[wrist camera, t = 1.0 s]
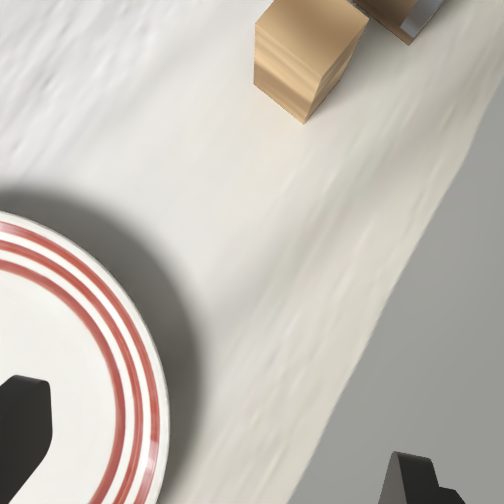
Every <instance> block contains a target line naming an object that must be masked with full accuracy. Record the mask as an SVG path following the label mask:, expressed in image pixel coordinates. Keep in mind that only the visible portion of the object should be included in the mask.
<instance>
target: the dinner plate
mask: <svg viewBox="0 0 504 504" xmlns="http://www.w3.org/2000/svg"><path fill="white" fill-rule="evenodd" d="M13 375H21V376H26V377H31V378H36V379H41V380H46V381H48V382H49V384H50V389H51V407H52V427H53V435H52V441H51V445H50V447H49V450H48V452H47V454H46V456H45V458H44V459H43V461H42V462H41V463H40V465H39V466H38V467H37V468H36V470H35V471H34V472H33V474H32V475H31V476H30V477H29V479H28V480H27V481H26V482H25V484H24V485H23V486H22V487H21V489H20V490H19V491H18V493H17V494H16V495H15V496H14V498H13V499H12V500H11V501H10V503H9V504H156V501H157V499H158V496H159V493H160V490H161V487H162V483H163V479H164V474H165V470H166V465H167V460H168V453H169V442H170V405H169V395H168V388H167V383H166V378H165V374H164V370H163V366H162V363H161V360H160V357H159V353H158V350H157V348H156V345H155V343H154V340H153V338H152V335H151V333H150V331H149V329H148V327H147V325H146V323H145V321H144V320H143V318H142V316H141V314H140V313H139V311H138V309H137V308H136V306H135V304H134V303H133V301H132V300H131V298H130V297H129V296H128V294H127V293H126V291H125V290H124V289H123V287H122V286H121V285H120V284H119V283H118V281H117V280H116V279H115V278H114V277H113V275H112V274H111V273H110V272H109V271H108V270H107V269H106V268H105V267H104V266H103V265H102V264H101V263H100V262H99V261H98V260H96V259H95V258H94V257H93V256H92V255H91V254H89V253H88V252H87V251H86V250H84V249H83V248H81V247H80V246H79V245H77V244H76V243H75V242H73V241H71V240H70V239H68V238H67V237H65V236H64V235H62V234H60V233H58V232H56V231H54V230H53V229H51V228H48V227H46V226H44V225H42V224H40V223H37V222H35V221H32V220H30V219H27V218H25V217H22V216H18V215H15V214H11V213H8V212H4V211H0V386H1V385H2V384H3V383H4V382H5V381H6V380H7V379H9V378H10V377H11V376H13Z"/></svg>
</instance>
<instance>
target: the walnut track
mask: <svg viewBox="0 0 504 504" xmlns="http://www.w3.org/2000/svg"><path fill="white" fill-rule="evenodd" d="M353 1H354V2H355V3H356V4H358V5H359V6H360V7H361V8H363V9H364V10H365V11H366V12H368V13H369V14H370V15H371V16H373V17H374V18H375V19H376V20H378V21H379V22H380V23H381V24H383V25H384V26H385V27H386V28H387V29H389V30H390V31H391V32H392V33H394V34H395V35H396V36H397V37H399V38H400V39H401V40H402V41H404V42H405V43H406V44H407V45H409V44H410V43H411V42H412V40H413V39H414V38H415V37H416V36H417V34H418V33H419V32H420V31H421V30H422V28H423V27H424V26H425V25H426V23H427V22H428V21H429V20H430V19H431V17H432V16H433V15H434V14H435V12H436V11H437V10H438V9H439V8H440V6H441V5H442V4H443V3H444V1H445V0H353Z"/></svg>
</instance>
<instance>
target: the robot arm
mask: <svg viewBox="0 0 504 504" xmlns="http://www.w3.org/2000/svg"><path fill="white" fill-rule="evenodd" d="M52 435H53V427H52V407H51V389H50V384H49V382H48V381H46V380H41V379H36V378H31V377H26V376H21V375H13V376H11V377H10V378H9V379H7V380H6V381H5V382H4V383H3V384H2V385H1V386H0V504H9V503H10V501H11V500H12V499H13V498H14V496H15V495H16V494H17V493H18V491H19V490H20V489H21V487H22V486H23V485H24V484H25V482H26V481H27V480H28V479H29V477H30V476H31V475H32V474H33V472H34V471H35V470H36V468H37V467H38V466H39V465H40V463H41V462H42V461H43V459H44V458H45V456H46V454H47V452H48V450H49V447H50V445H51V441H52ZM378 504H465V502H464V501H463V500H462V498H461V497H460V496H459V494H458V493H457V492H456V490H453V489H448V488H443V487H439V485H438V481H437V478H436V474H435V470H434V467H433V463H432V462H431V460H430V459H429V458H426V457H421V456H416V455H411V454H406V453H400V452H396V451H394V452H393V453H392V455H391V458H390V462H389V465H388V469H387V473H386V477H385V480H384V484H383V488H382V492H381V495H380V499H379V503H378Z"/></svg>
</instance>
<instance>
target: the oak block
mask: <svg viewBox="0 0 504 504" xmlns="http://www.w3.org/2000/svg"><path fill="white" fill-rule="evenodd" d="M368 21H369V18H368V17H367V16H365V15H364V14H363V13H362V12H360V11H359V10H358V9H357V8H355V7H354V6H353V5H352V4H350V3H349V2H348V1H347V0H274V2H273V3H272V4H271V5H270V6H269V8H268V9H267V10H266V11H265V12H264V14H263V15H262V16H261V17H260V18H259V20H258V21H257V22H256V23H255V56H254V85H255V86H257V87H258V88H259V89H260V90H262V91H263V92H264V93H265V94H267V95H268V96H269V97H270V98H271V99H273V100H274V101H275V102H276V103H278V104H279V105H280V106H281V107H283V108H284V109H285V110H286V111H288V112H289V113H290V114H291V115H292V116H294V117H295V118H296V119H297V120H299V121H300V122H301V123H302V124H304V123H305V122H306V121H307V120H308V118H309V117H310V116H311V115H312V114H313V112H314V111H315V110H316V109H317V107H318V106H319V105H320V104H321V103H322V101H323V100H324V99H325V98H326V97H327V95H328V94H329V93H330V92H331V90H332V89H333V88H334V87H335V86H336V84H337V83H338V82H339V81H340V79H341V77H342V74H343V72H344V70H345V68H346V66H347V64H348V62H349V60H350V58H351V56H352V54H353V52H354V50H355V48H356V46H357V44H358V42H359V40H360V38H361V36H362V34H363V32H364V30H365V28H366V26H367V24H368Z"/></svg>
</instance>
